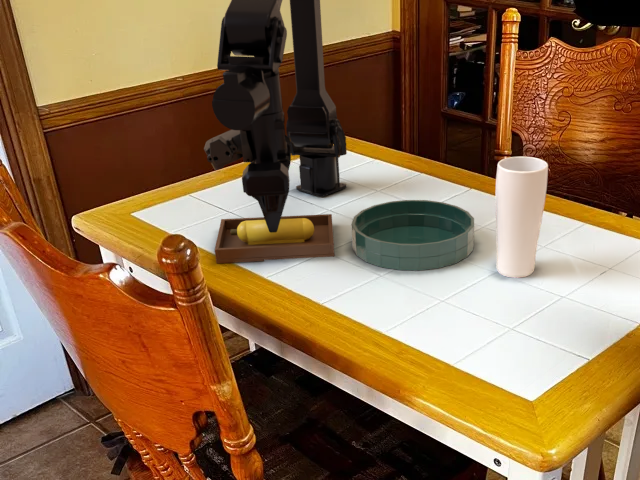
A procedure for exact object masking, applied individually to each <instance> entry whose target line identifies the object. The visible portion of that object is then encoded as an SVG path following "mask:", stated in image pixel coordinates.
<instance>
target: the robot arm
mask: <svg viewBox="0 0 640 480" xmlns="http://www.w3.org/2000/svg"><path fill="white" fill-rule="evenodd" d="M282 3H283V0H231V1H230V2H229V5H228V7H227V8H226V10H225V13H224V16H223V17H222V19H221V23H220V34H219V43H218V54H217V64H216V68H217V70H218V71H224V72H223V73H222V79H223V83H222V84H221V85H219V86H218V87H217V88H216V89H215V90H214V92H213V95H212V101H211V107H212V110H213V114H214V116H215V118H216V119H217V120H218V122H219V123H220V124H221V125H222V126H224V127H225V128H226V129H229V130H227V131H225V132H223V133H221V134H218V135H216V136H214V137H212V138H210V139H208V140H206V141H205V145H204V147H203V150H204V152H205V154H206V160H207V162H208V163H209V164H211V166H212V167H213V169H214V171H219V170H222V169H223V168H224V167H225V166H226V165H229V164H232V163H233V162H236V161H238V160H240V159H242V160H243V163H248V164H247V165H246V167H244V169H243V170H242V174H241V183H242V190H243V193H245V194H246V195H247V196H248V197H251V198H253V199H254V200H256V201H257V202H258V205H259V207H260V211H261V213H262V217H264V219H265V221H266V224H267V227H268V230H269V232H271V233H272V232H277V230H278V226H279V223H280V219H281V216H283V212H284V209H285V206H286V202H287V199H288V195H289V193H290V166H291V163H292V161H291V160H292V156H299V165H298V168H299V169H298V171H299V181H300V184H299V185H296V186H295V190H296V191H300V192H303V193H307V194H310V195H313V196H315V197H316V196H317V197H321V198H323V197H326V196H328V195H331V194H333V193H337V192H338V191H341V190H344V189H346V188H347V184H346V183H343V182H340V179H341V178H340V163H339V158H340V157H341V156H346V155H347V153H348V152H347V151H348V150H347V136H346V134H345V132H344V128H343V126H342V124H341V122H340V119H338V114H337V106H336V104H335V102H334V100H332V98H331V96H330V95H329V92H328V91H327V90H326V81H325V64H324V48H323V47H324V46H323V45H324V44H323V31H322V30H323V29H322V27H323V26H322V14H321V13H322V11H321V0H289V9H290V22H291V23H290V24H291V35H292V37H291V39H292V48H293V49H292V50H293V62H294V74H295V75H294V76H295V89H296V90H295V91H296V93H295V95H294V97H293V100H292V102H291V103H290V105H289V106H288V108H287V111H286V113H287V114H286V115H287V119H286V118H285V112H284V106H283V98H282V97H283V96H282V95H283V94H282V87H281V76H280V69H279V68H280V67H281V64H282V63H283V60H284V54H285V48H286V43H287V37H288V30H287V27H286V26H285V23H284V19H283V15H282V13H281V7H282ZM285 121H286V125H285ZM285 128H286V129H285Z"/></svg>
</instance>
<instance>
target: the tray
mask: <svg viewBox="0 0 640 480" xmlns="http://www.w3.org/2000/svg"><path fill="white" fill-rule="evenodd" d="M293 218H306V219H309V220H310V221H311V222H312V223H313V225H314V234H313V235H312V237H311V238H309V239H307V240H305V242H298V243H277V244H256V245H249V244H248V243H246V242H243V241H242V240H241V239H240V238H239V237H238V235H231V229H237V227H238V225H239V224H240V223H241V222H243V221H248V220H265V219H264V216H260V217H257V216H256V217H239V218H238V217H237V218H221V220H220V224H219V228H218V232H217V238H216V242H215V245H214V246H215V247H214V255H215V261H216V264H231V263H232V264H233V263H251V262H253V263H254V262H265V261H270V260H289V259H290V260H291V259H292V260H293V259H310V258H311V259H312V258H313V259H314V258H334V257H335V243H334V242H335V241H334V227H333V214H332V213H326V214H325V213H324V214H323V213H322V214H303V215H282V216H281V219H293Z"/></svg>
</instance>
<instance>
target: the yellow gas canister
mask: <svg viewBox="0 0 640 480" xmlns="http://www.w3.org/2000/svg"><path fill="white" fill-rule="evenodd" d="M313 234H314V225H313V223H312V222H311V221H310V220H309V219H306V218H293V219H280V223H279V226H278V230H277V232H272V233H271V232H269V230H268V227H267V224H266V221H265V220H248V221H243V222H241V223H240V224H239V225H238V227H237V229H231V235H238V237H239V238H240V239H241V240H242V241H243V242H246V243H248V244H249V245H256V244H277V243H298V242H305V240H307V239H309V238H311V237H312V235H313Z"/></svg>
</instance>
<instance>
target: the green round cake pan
mask: <svg viewBox="0 0 640 480" xmlns="http://www.w3.org/2000/svg"><path fill="white" fill-rule="evenodd" d="M350 226H351V240H352V250H353V251H354V253H355V256H356V257H357V258H360V259H361V260H362V261H364V262H365V263H367V264H371V265H374V266H376V267H379V268H385V269H392V270H396V271H426V270H434V269H441V268H444V267H448V266H452V265H455V264H457V263H459V262H461V261H463V260H465V259H466V258H468V257H469V255H470V254H471V253H472V252H473V251H474V237H475V218H474V216H473V215H472V214H471V213H470V212H469V211H468V210H465V209H464V208H462V207H460V206H457V205H455V204H451V203H447V202H443V201H435V200H428V199H403V200H393V201H392V200H391V201H386V202H382V203H378V204H374V205H371V206H369V207H367V208H365V209H361V210H360V211H359V212H358V213H357V214H355V215H354V216H353V219H352V221H351V225H350Z"/></svg>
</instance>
